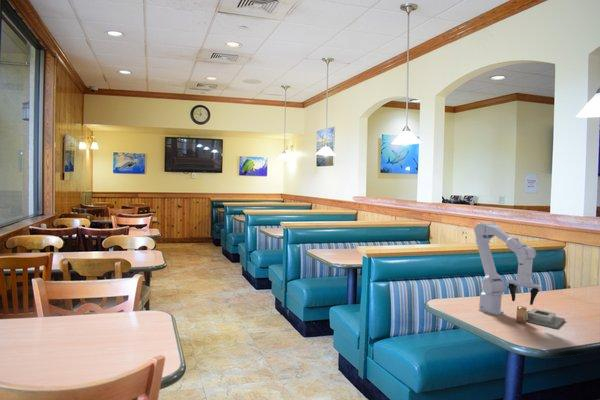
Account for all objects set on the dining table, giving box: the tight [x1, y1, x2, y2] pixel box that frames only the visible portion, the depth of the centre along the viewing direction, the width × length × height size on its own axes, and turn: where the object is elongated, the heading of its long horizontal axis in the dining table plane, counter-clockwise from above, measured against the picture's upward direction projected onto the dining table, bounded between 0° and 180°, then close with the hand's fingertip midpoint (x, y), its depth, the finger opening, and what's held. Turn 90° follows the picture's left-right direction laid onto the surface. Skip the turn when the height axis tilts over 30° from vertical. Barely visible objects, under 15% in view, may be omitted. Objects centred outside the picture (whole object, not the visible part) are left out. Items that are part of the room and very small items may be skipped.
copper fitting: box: [515, 305, 528, 325], centre depth 209 cm, size 4×4×7 cm
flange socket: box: [526, 308, 566, 330], centre depth 213 cm, size 16×16×4 cm
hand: (522, 302), depth 208 cm, fingers open, 7 cm apart
